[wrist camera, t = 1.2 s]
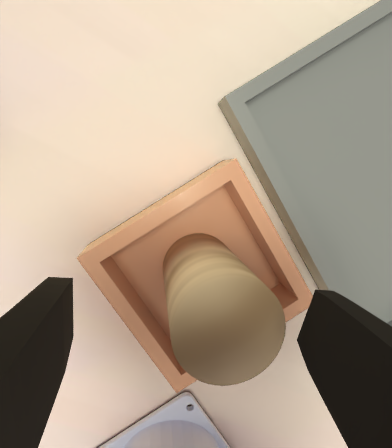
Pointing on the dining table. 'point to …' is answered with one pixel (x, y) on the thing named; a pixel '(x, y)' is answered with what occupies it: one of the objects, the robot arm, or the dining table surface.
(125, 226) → the square terracotta tray
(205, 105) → the dining table surface
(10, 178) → the dining table surface
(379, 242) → the slate tray
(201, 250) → the birch peg
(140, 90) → the dining table surface
